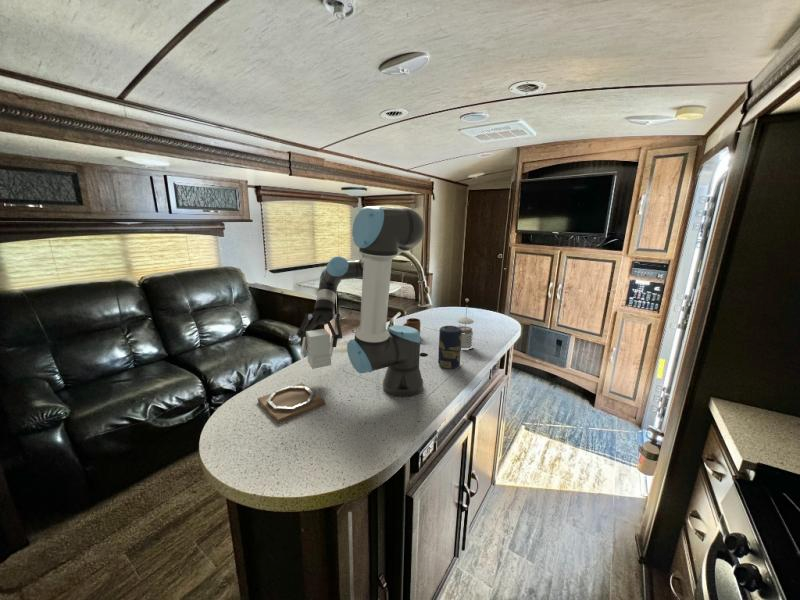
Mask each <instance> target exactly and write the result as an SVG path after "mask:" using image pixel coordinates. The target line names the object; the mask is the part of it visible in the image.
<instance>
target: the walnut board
mask: <svg viewBox="0 0 800 600" xmlns="http://www.w3.org/2000/svg"><path fill="white" fill-rule="evenodd" d="M293 386H306V387H307V388H309V387H308V386H307V385H305V384H304V383H303V382H300V383H298V384H295V385H293ZM309 389H310V390H311V391H313V390H312V389H311V388H309ZM313 392H314V397H313V399H312V401H311V403H310V405H307V406H305V407H302V408H300V409H298V410H295V411H293V412H292V411H274V410H273V409H272V408H271V407H270V406H269V405H268V404H267V400H268V398H269V397H270V396H271V394H272V393H269V394H266V395H263V396H260V397H257V403H258V402H259V403H260V404H261V405H262V406H263V407H262V406H261V405H260V404H259V403H258V404H259V405H260V406H261V407H262V408H263V409H264V410H265V411H266V412H267V413H268V415H269V416H270V417H271V416H272V417H273V418H274V419H275V420H276V421H277V422H276V421H275V420H274V419H273V418H272V419H273V420H274V421H275V422H276V423H277V424H278V423H279V424H281V423H280V422H282V423H284V422H286V421H289V420H291V419H293V418H295V417H298V416H302V415H304V414H305V413H308V412H310V411H312V410H314V409H317V408H319V407H322V406H324V405H325V404H326V400H325V399H324V398H322V396H320V395H319V394H317V393H316V392H315V391H313ZM309 396H310V395H309V394H308V393H307V392H306V391H304V390H289V391H286V392H283V393H280V394H278V395H276V396H275V397H274V399H273V400H272V402H273V403H274V404H275V405H276V406H280V407H293V406H296V405H298V404H301V403H303V402H306V401H307V400H308V398H309ZM288 419H289V420H288ZM283 421H284V422H283Z"/></svg>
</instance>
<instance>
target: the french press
mask: <svg viewBox="0 0 800 600" xmlns="http://www.w3.org/2000/svg"><path fill="white" fill-rule="evenodd" d="M465 302H470V299H469V298H465ZM465 307H466V310H465V314H467V312H468V311H467V310H468V306H465ZM474 322H475V321H474V319H472V318H470V317H467V316H465V317H460V318H458V319H457V323H459V325H458V326H457V327H459V328H460V329H461V330H462V339H461V348H470V347H471V346H473V342H472V341H473V335H474V332H473V328H472V327H470V326H466V325H471V324H474ZM460 324H463V325H464V326H463V325H462V326H461V325H460Z"/></svg>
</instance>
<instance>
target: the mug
mask: <svg viewBox="0 0 800 600" xmlns="http://www.w3.org/2000/svg"><path fill="white" fill-rule="evenodd" d="M402 326H408V327H412V328H415V329H416V330H418V331H419V333H420V334H421V320H420V319H419V318H413V317H410V318H408V319H406V322H404V323H403V325H402Z"/></svg>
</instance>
